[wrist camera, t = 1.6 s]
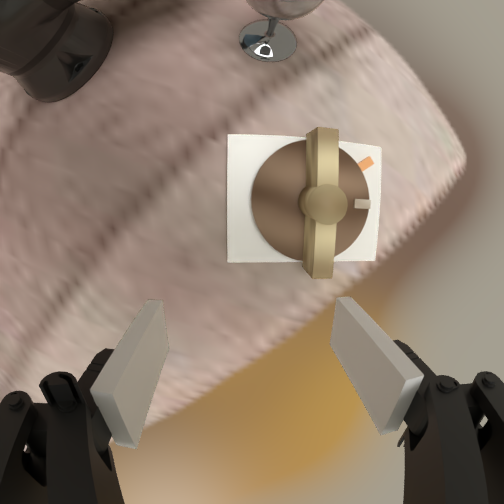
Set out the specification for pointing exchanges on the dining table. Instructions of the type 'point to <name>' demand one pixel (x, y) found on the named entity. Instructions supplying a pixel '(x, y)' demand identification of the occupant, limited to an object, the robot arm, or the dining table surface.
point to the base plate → (240, 187)
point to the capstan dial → (311, 201)
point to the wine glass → (274, 28)
